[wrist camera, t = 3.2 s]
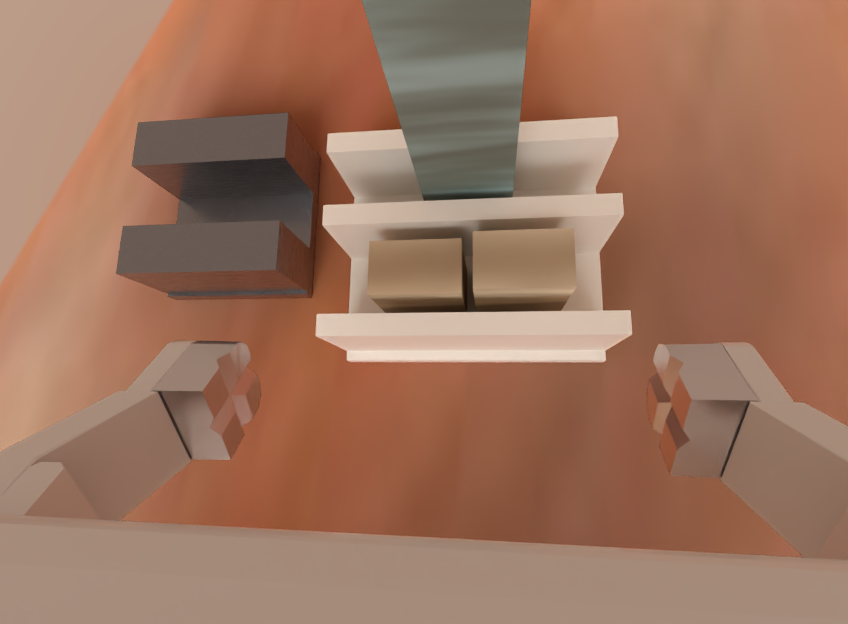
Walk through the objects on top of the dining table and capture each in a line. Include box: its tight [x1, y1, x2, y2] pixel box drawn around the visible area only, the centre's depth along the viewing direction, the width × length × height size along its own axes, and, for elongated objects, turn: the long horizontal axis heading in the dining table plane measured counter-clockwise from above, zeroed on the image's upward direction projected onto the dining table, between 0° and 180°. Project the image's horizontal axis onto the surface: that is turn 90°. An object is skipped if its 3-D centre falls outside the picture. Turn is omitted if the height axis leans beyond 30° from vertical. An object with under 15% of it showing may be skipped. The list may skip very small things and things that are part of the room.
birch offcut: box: [367, 238, 467, 313], centre depth 30 cm, size 3×5×6 cm, turn 89°
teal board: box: [362, 0, 531, 201], centre depth 24 cm, size 2×5×20 cm, turn 89°
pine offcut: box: [473, 228, 577, 312], centre depth 28 cm, size 3×5×7 cm, turn 89°
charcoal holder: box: [116, 113, 321, 300], centre depth 33 cm, size 10×10×6 cm
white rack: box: [316, 116, 632, 362], centre depth 30 cm, size 13×16×7 cm
